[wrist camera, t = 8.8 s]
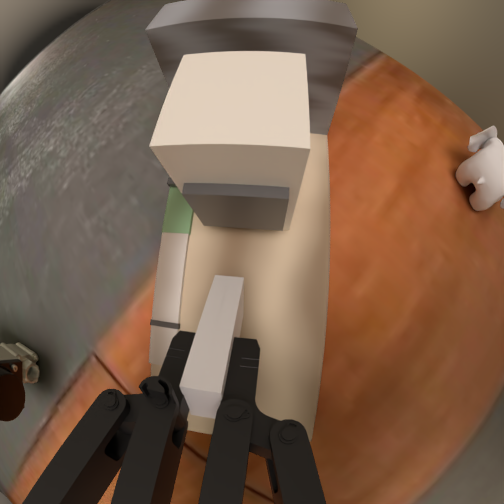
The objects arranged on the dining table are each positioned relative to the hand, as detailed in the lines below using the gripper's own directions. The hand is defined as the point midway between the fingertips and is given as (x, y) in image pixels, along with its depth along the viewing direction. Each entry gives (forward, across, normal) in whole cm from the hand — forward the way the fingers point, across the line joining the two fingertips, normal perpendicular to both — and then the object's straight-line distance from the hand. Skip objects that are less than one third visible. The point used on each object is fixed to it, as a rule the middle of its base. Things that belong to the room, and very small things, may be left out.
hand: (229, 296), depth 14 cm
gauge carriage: (+8, -1, +4) cm, 9 cm away
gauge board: (+6, 0, -1) cm, 7 cm away
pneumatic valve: (-3, -22, -11) cm, 25 cm away
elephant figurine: (+13, +24, +5) cm, 28 cm away
